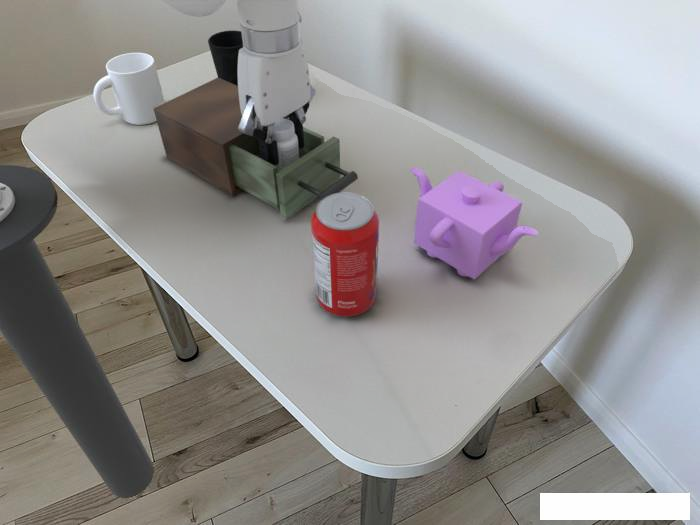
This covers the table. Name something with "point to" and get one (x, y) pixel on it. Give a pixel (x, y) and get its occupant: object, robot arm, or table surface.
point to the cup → (226, 54)
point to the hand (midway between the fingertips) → (283, 152)
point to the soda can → (345, 253)
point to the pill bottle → (285, 143)
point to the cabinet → (203, 131)
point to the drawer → (290, 173)
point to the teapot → (466, 222)
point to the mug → (132, 88)
